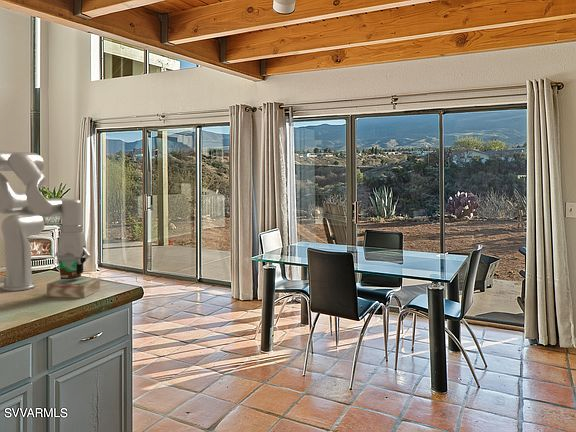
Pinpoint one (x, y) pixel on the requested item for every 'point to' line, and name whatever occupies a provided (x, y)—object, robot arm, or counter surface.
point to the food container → (68, 266)
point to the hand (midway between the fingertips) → (73, 272)
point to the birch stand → (73, 287)
